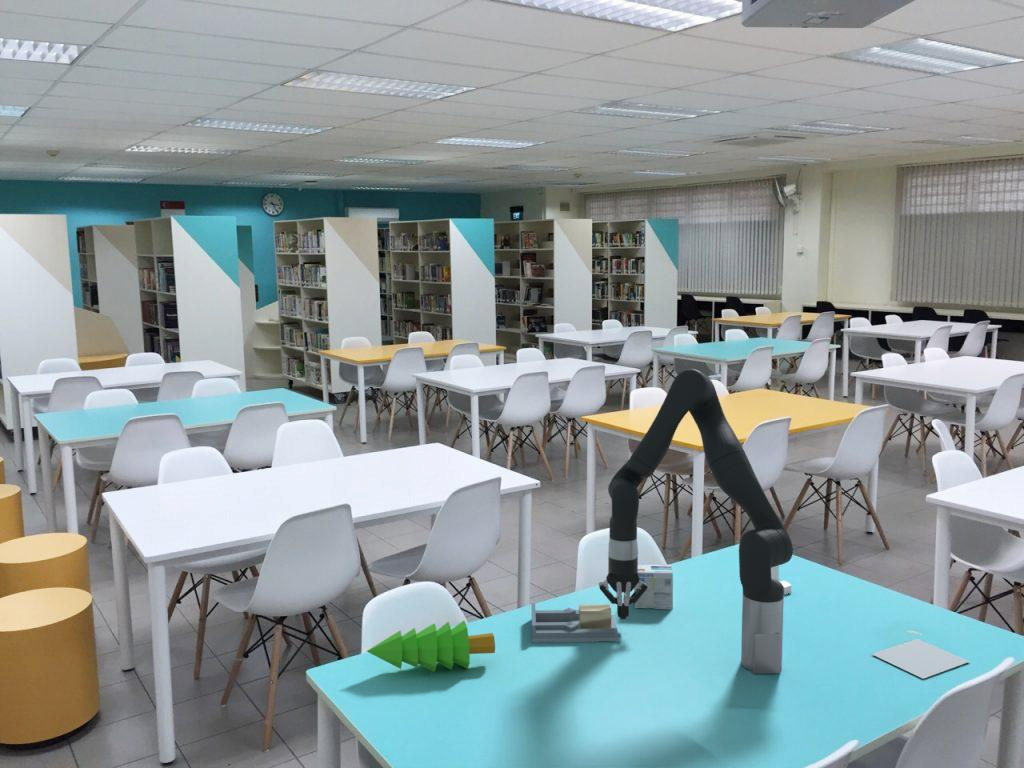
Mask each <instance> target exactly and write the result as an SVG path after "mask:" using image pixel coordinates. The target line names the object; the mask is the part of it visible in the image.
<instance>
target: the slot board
mask: <svg viewBox="0 0 1024 768" xmlns="http://www.w3.org/2000/svg"><path fill="white" fill-rule="evenodd" d="M531 636H532V637H531V640H532V641H531V642H532V643H599V642H598V641H617V642H618V643H619V642H620V635H619V631H618V627H617V624H616V620H615V616H614V614H611V628H585V629H580V624H579V609H573V608H571V607H567V608H565V609H560V610H559V609H558V610H556V609H555V610H552V609H549V610H547V609H546V610H544V609H543V610H542V609H541V610H538V609H537V610H536V603H534V602H533V603H531ZM590 641H591V642H590ZM594 641H595V642H594ZM617 642H616V643H617Z"/></svg>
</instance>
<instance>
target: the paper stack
mask: <svg viewBox="0 0 1024 768" xmlns="http://www.w3.org/2000/svg"><path fill="white" fill-rule="evenodd" d="M906 632H907V633H910V634H915V635H921V636H922V635H923V634H922V633H920V632H917V631H915V630H913V629H911V630H908V631H906ZM871 655H873V656H875V657H877V658H879V659H881V660H882V661H885V662H887V663H889V664H891V665H892V666H893V665H894V666H896V667H898V668H900V669H901V670H904V671H906V672H908V673H910V674H912V675H914V676H917V677H919V678H920V679H926V678H929V677H932V676H935V675H937V674H940V673H942V672H946V671H948V670H951V669H954V668H957V667H959V666H963V665H965V664H967V663H970V660H967V659H964V658H963V657H961V656H958V655H956V654H953V653H951V652H949V651H947V650H944V649H942V648H940V647H937V646H935V645H933V644H930V643H927V642H926V641H923V640H921V639H918V638H915V639H912V640H910V641H907V642H904V643H900V644H897V645H894V646H890V647H889V648H886V649H882V650H879V651H877V652H874V653H873V652H872V653H871Z"/></svg>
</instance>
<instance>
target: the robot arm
mask: <svg viewBox="0 0 1024 768" xmlns="http://www.w3.org/2000/svg"><path fill="white" fill-rule="evenodd" d="M688 412H689V413H690V415H691V417H692V418H693V420H694V422H695V425H696V426H697V429H698V430H699V433H700V437H701V442H702V448H703V452H704V456H705V460H706V462H707V466H708V467H709V470H710V472H711V474H712V476H713V479H714V481H715V482H716V484H717V486H718V487H719V488H720V490H722V492H724V493H725V495H727V497H729V498H730V499H731V500H733V501H734V502H735V503H736V504H737V505H738V506H739V507H740V508H741V509H742V510H743V512H745V513H746V515H747V516H748V518H749V519H750V521H751V523H752V525H753V527H754V529H750V530H748V531H745V532H744V533H743V534H742V535H741V537H740V540H739V544H738V565H739V566H738V567H739V568H738V569H739V580H740V583H741V586H742V606H741V607H742V608H741V609H742V611H741V649H740V650H741V652H740V653H741V655H740V657H741V660H740V662H741V666H743V667H744V668H745V669H747V670H748V671H751V672H752V673H753V674H781V670H782V668H783V667H782V666H783V638H784V637H783V634H784V630H783V629H784V628H783V627H784V603H785V602H784V600H785V599H784V598H785V595H784V587H783V585H782V583H780V582H781V581H780V580H779V581H777V580H775V579H772V578H771V567H775V566H778V565H779V566H782V565H785V564H786V563H788V562H790V560H791V559H792V558H793V553H794V547H793V546H794V545H793V541H792V539H791V536H790V535H789V533H788V530H787V529H786V528H785V526H784V524H783V522H782V521H781V519H780V518H779V516H778V514H777V513H776V511H775V509H774V508H773V506H772V505H771V503H770V501H769V498H768V497H767V495H766V493H765V491H764V489H763V488H762V485H761V484H760V481H759V479H758V478H757V476H756V473H755V471H754V469H753V466H752V465H751V462H750V460H749V458H748V456H747V454H746V452H745V450H744V447H743V446H742V444H741V442H740V441H739V438H738V437H737V435H736V433H735V431H734V429H733V428H732V426H731V425H730V423H729V422H728V420H727V417H726V414H725V412H724V410H723V407H722V405H721V402H720V399H719V396H718V394H717V391H716V388H715V385H714V383H713V381H712V379H710V378H709V377H708V376H707V375H705V374H704V373H703V372H701V371H700V370H699V369H694V368H687V369H684V370H681V371H680V372H679V373H678V374H677V375H676V376H675V377H674V379H673V381H672V382H671V385H670V387H669V389H668V391H667V393H666V396H665V398H664V401H663V403H662V404H661V407H660V408H659V411H658V412H657V414H656V416H655V418H654V420H653V421H652V423H651V425H650V427H648V430H647V432H645V434H644V436H643V437H642V439H641V440H640V442H639V444H638V445H637V446H636V447H635V449H634V450H633V452H632V454H631V455H630V457H629V459H628V460H627V461H626V462H625V463H624V464H623V465H622V467H621V468H619V470H618V471H617V472H616V473H615V474H614V476H613V477H612V478H611V480H610V482H609V484H608V488H607V489H608V490H607V493H608V495H609V497H610V499H611V517H610V518H609V527H608V528H609V538H608V546H607V547H608V552H607V553H608V554H607V555H608V561H607V562H608V573H607V575H606V579H605V580H604V581H601V582H599V583H598V587H599V590H600V591H601V592H602V594H603V595H604V596H605V597H606V599H607V600H608V601H609V602H610V603H611V604H612V605H616V614H617V617H618V618H620V619H619V620H626V619H627V618H629V615H630V613H629V612H630V609H629V608H630V605H632V604H633V605H635V604H634V603H636V602H637V600H638V599H639V598H640V597H641V595H642V594H643V593H644V592H645V591H646V589H647V585H646V582H642V581H641V580H640V578H639V576H638V565H639V545H638V522H637V519H638V513H639V506H640V493H639V489H638V488H639V487H640V485H641V484H642V483H643V482H644V480H645V479H648V478H650V477H651V476H653V474H654V472H656V469H658V468H659V467H658V466H659V465H661V462H662V461H663V459H664V458H665V456H666V454H667V453H668V450H669V449H670V446H671V443H672V442H673V441H672V440H673V438H674V437H675V433H676V431H677V429H678V427H679V425H680V424H681V421H682V420H683V419H684V417H685V416H686V415H687V413H688ZM637 584H638V585H637ZM636 585H637V589H636V591H635V592H634V588H635V586H636ZM609 586H610V587H611V589H612V590H613V591H614V592H615V594H616V596H614V594H613V593H612V592H611V591H610V590H609V588H610V587H609ZM632 591H633V592H632ZM631 592H632V594H631Z"/></svg>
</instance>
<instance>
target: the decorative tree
mask: <svg viewBox="0 0 1024 768" xmlns="http://www.w3.org/2000/svg"><path fill="white" fill-rule="evenodd" d="M468 633H469V632H468V626H467V623H466V621H465V620H462V621H461V622H460V623H458V624H457V625H456V626H455V627H451V624H450V621H447V622H445V624H443V625H442V626H441V627H440V628H439V629H437V626H436V623H432V624H431V625H429V626H427V627H426V628H423V629H422V630H420V631H419V632H416V628H415V627H414V628H412V629H411V630H409V631H408V632H407V633H405V634H403V635H402V630H399V631H397V632H395V633H394V634H392V635H391V636H389V637H387V638H385V639H384V640H382V641H380V642H379V643H377V644H376V645H373V646H372V647H371V648H369V649H367V650H366V652H367V653H369V654H370V655H373V656H375V657H377V658H379V659H380V660H383V661H384V662H386V663H388V664H391V665H392V666H394V667H396V668H398V669H400V670H402V665H403V663H405V664H408V665H410V666H412V667H415V668H418V667H419V665H420V666H421V667H424V668H425V669H426V670H429V671H430V672H433V673H436V669H437V663H438V664H440V665H442V666H443V667H444V668H447V669H448V670H450V671H452V670H453V666H454V664H456V665H458V666H460V667H463V668H465V669H466V670H468V669H469V666H470V659H471V658H470V657H471V656H470V655H475V654H477V655H480V654H481V655H482V654H495V653H496V639H495V635H494V633H493V632H489V633H482V634H473V635H469V634H468Z"/></svg>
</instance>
